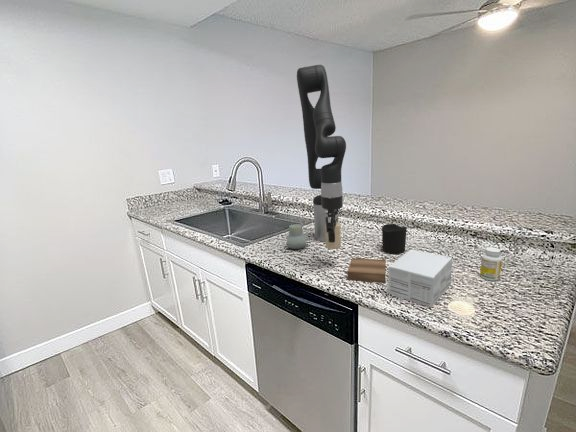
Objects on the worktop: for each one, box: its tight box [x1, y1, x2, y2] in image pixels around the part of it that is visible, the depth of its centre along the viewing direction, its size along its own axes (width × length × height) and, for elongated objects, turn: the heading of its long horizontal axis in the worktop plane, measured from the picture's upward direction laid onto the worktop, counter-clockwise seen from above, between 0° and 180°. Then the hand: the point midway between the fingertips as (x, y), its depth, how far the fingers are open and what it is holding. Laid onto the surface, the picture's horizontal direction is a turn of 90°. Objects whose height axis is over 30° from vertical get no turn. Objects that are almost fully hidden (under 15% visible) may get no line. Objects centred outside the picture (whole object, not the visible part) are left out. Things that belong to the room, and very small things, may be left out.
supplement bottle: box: [479, 246, 503, 282], centre depth 97 cm, size 5×5×10 cm
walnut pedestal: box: [347, 257, 387, 284], centre depth 106 cm, size 12×12×3 cm
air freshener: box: [286, 223, 307, 250], centre depth 135 cm, size 11×8×10 cm
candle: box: [325, 222, 342, 250], centre depth 112 cm, size 6×6×10 cm
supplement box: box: [387, 248, 453, 308], centre depth 93 cm, size 17×13×9 cm
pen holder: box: [381, 223, 408, 255], centre depth 124 cm, size 9×9×10 cm
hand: (333, 238), depth 112 cm, fingers closed on candle, 5 cm apart
